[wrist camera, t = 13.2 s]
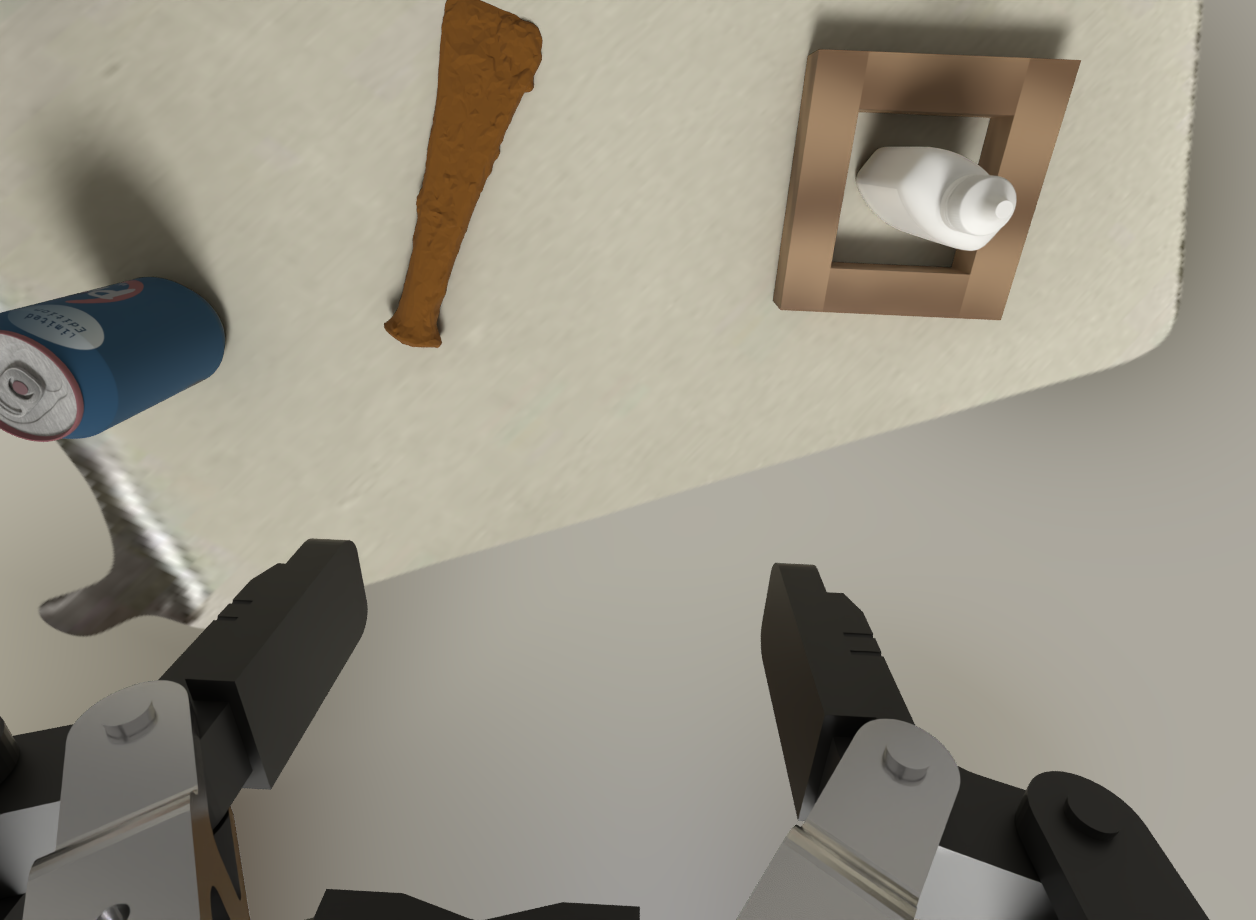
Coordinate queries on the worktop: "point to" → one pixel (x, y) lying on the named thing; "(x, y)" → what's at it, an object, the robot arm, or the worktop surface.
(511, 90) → the primitive tool
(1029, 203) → the walnut collar
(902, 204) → the eye dropper bottle
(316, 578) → the robot arm
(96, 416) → the soda can
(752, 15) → the worktop surface
